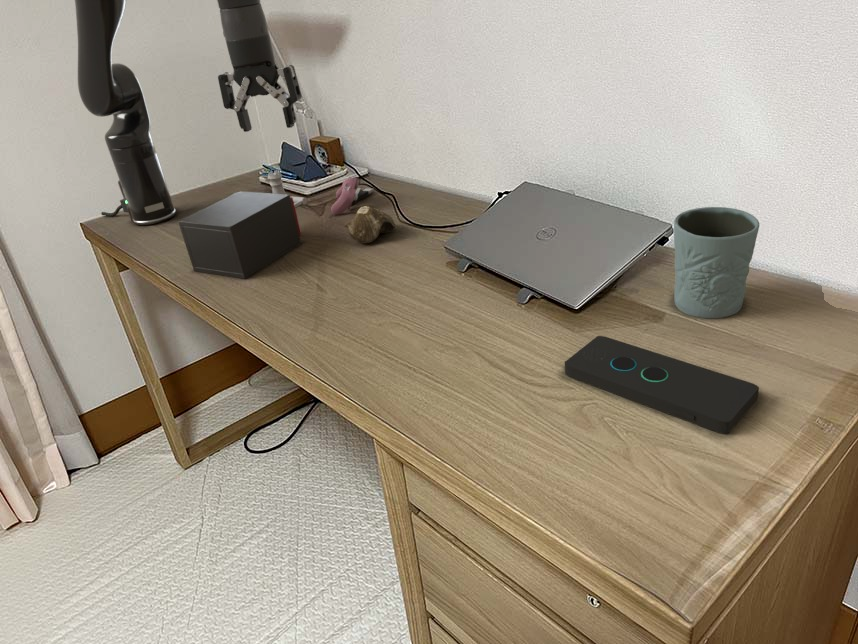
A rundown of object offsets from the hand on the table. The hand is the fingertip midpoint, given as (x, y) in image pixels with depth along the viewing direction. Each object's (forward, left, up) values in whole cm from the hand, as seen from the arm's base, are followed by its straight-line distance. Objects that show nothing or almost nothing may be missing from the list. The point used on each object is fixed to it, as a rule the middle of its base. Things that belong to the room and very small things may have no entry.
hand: (269, 128), depth 127 cm
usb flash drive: (0, +21, -21) cm, 29 cm away
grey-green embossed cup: (+79, -7, -21) cm, 82 cm away
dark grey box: (-2, -11, -21) cm, 24 cm away
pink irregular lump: (+2, +16, -21) cm, 26 cm away
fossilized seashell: (+17, +3, -21) cm, 27 cm away
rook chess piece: (-14, +13, -21) cm, 28 cm away
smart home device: (+77, -28, -21) cm, 85 cm away
